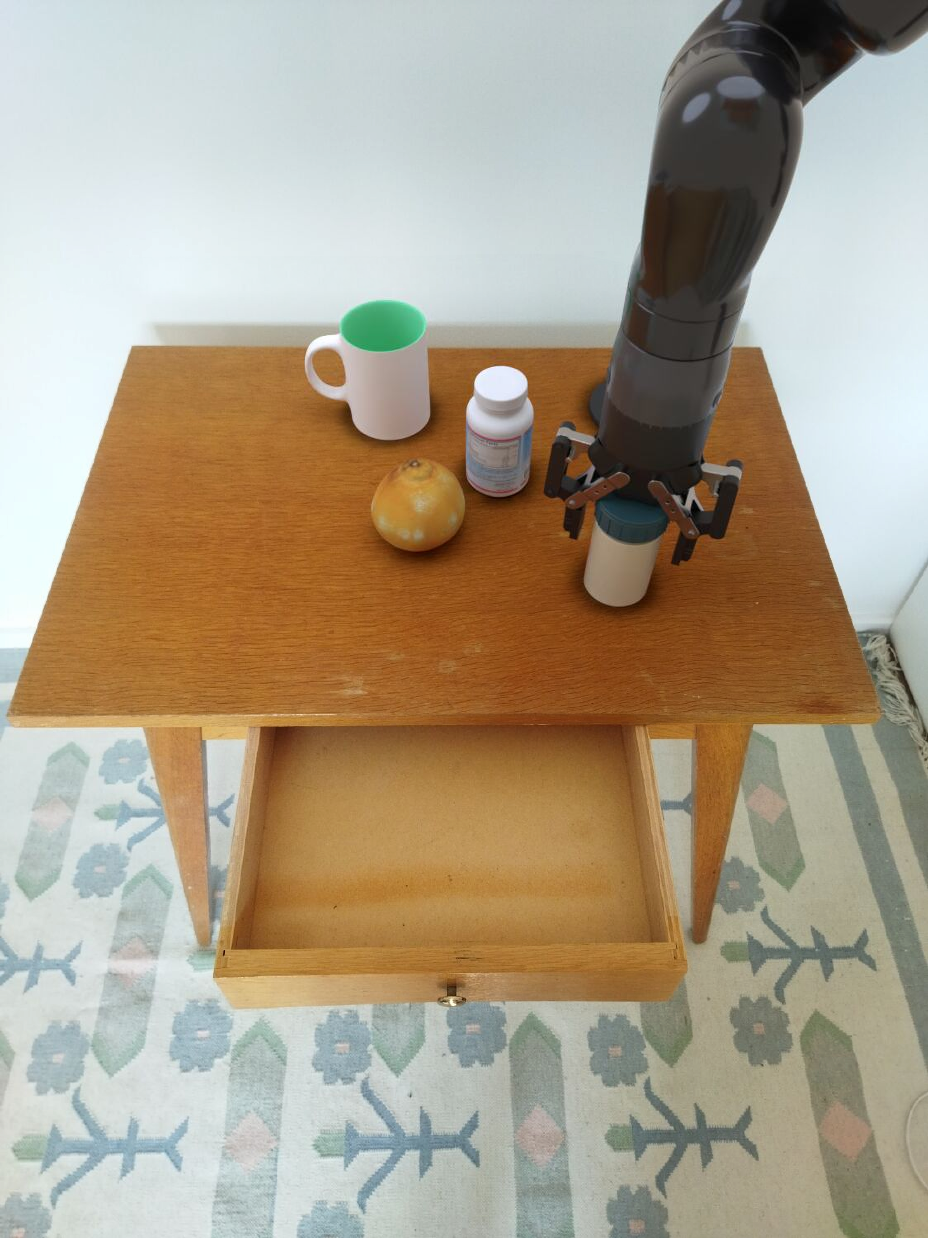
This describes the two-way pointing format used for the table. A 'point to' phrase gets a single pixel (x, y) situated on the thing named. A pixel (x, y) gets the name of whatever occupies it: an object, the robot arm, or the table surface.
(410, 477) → the fruit
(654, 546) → the jar
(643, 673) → the table surface
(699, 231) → the robot arm
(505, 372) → the pill bottle
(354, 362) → the mug
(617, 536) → the lid
